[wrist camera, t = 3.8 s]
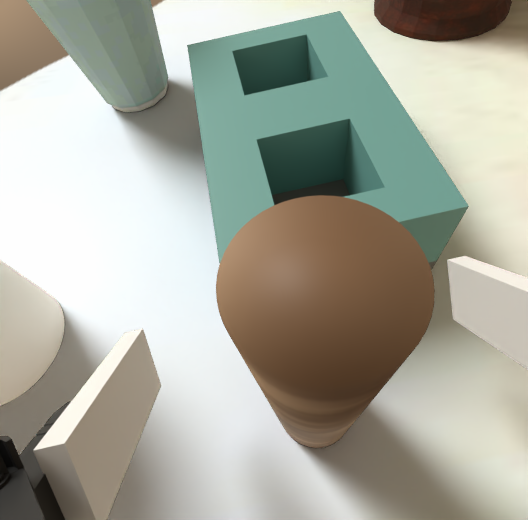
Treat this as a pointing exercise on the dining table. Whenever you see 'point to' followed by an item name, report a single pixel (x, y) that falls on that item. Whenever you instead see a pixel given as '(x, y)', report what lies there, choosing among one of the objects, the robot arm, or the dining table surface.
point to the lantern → (441, 17)
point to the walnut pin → (323, 308)
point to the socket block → (313, 131)
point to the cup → (26, 333)
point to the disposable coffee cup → (111, 47)
